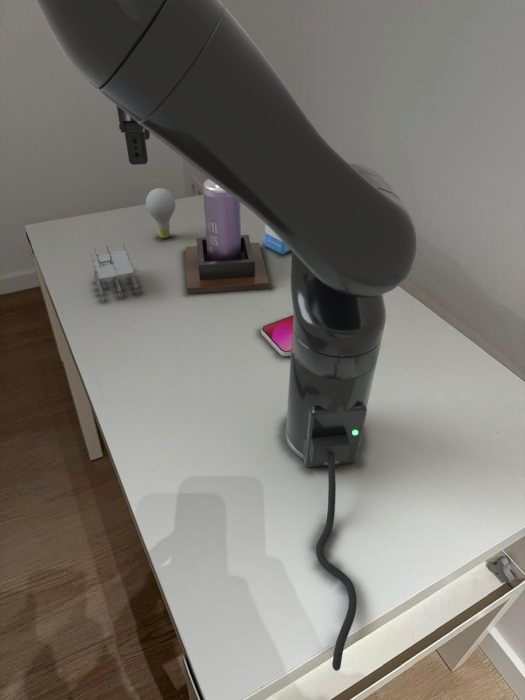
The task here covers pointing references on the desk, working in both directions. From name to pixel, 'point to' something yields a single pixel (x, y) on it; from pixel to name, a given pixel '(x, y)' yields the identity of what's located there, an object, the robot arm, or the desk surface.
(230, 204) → the beverage can
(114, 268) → the building frame
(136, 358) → the desk surface
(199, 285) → the base pad
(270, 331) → the smartphone
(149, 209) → the light bulb
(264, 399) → the desk surface
